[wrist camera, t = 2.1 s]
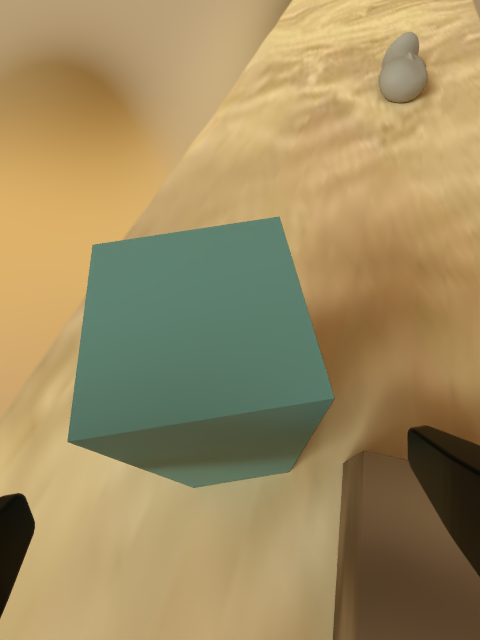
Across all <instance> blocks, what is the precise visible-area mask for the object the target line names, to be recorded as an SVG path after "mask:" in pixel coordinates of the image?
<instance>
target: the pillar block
mask: <svg viewBox="0 0 480 640" xmlns="http://www.w3.org/2000/svg"><path fill="white" fill-rule="evenodd" d="M334 399H335V398H334V395H333V391H332V388H331V385H330V381H329V378H328V375H327V372H326V368H325V365H324V362H323V358H322V355H321V352H320V349H319V345H318V342H317V339H316V335H315V332H314V329H313V326H312V322H311V319H310V316H309V312H308V309H307V306H306V302H305V299H304V296H303V293H302V289H301V286H300V283H299V279H298V276H297V273H296V270H295V266H294V263H293V260H292V256H291V253H290V250H289V246H288V243H287V240H286V237H285V233H284V230H283V227H282V223H281V220H280V217H274V218H267V219H261V220H254V221H247V222H241V223H234V224H228V225H221V226H214V227H208V228H201V229H195V230H188V231H181V232H175V233H168V234H161V235H155V236H148V237H142V238H135V239H128V240H122V241H115V242H109V243H102V244H95V245H93V247H92V254H91V262H90V270H89V278H88V286H87V293H86V301H85V309H84V317H83V325H82V332H81V340H80V348H79V356H78V364H77V371H76V379H75V387H74V395H73V403H72V410H71V418H70V426H69V434H68V442H69V443H72V444H75V445H77V446H80V447H83V448H86V449H88V450H91V451H94V452H97V453H99V454H102V455H105V456H108V457H110V458H113V459H116V460H119V461H121V462H124V463H127V464H130V465H132V466H135V467H138V468H141V469H143V470H146V471H149V472H152V473H154V474H157V475H160V476H163V477H165V478H168V479H171V480H174V481H176V482H179V483H182V484H185V485H187V486H190V487H193V488H196V487H202V486H208V485H214V484H220V483H226V482H232V481H238V480H244V479H250V478H256V477H262V476H268V475H274V474H280V473H286V472H290V470H291V469H292V467H293V465H294V464H295V462H296V460H297V459H298V457H299V456H300V454H301V452H302V451H303V449H304V447H305V446H306V444H307V443H308V441H309V439H310V438H311V436H312V434H313V433H314V431H315V429H316V428H317V426H318V425H319V423H320V421H321V420H322V418H323V416H324V415H325V413H326V412H327V410H328V408H329V407H330V405H331V403H332V402H333V400H334Z"/></svg>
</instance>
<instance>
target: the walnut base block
mask: <svg viewBox="0 0 480 640" xmlns="http://www.w3.org/2000/svg"><path fill="white" fill-rule="evenodd" d="M333 640H480V577H479V576H478V574H477V573H476V571H475V570H474V569H473V567H472V566H471V564H470V563H469V561H468V560H467V559H466V557H465V556H464V554H463V553H462V552H461V550H460V549H459V547H458V546H457V544H456V543H455V541H454V540H453V539H452V537H451V536H450V534H449V532H448V531H447V529H446V528H445V526H444V524H443V523H442V521H441V519H440V517H439V516H438V514H437V512H436V511H435V509H434V507H433V505H432V504H431V502H430V500H429V498H428V497H427V495H426V493H425V492H424V490H423V488H422V486H421V485H420V483H419V481H418V480H417V478H416V476H415V474H414V473H413V471H412V469H411V467H410V464H409V461H408V460H404V459H399V458H395V457H390V456H385V455H381V454H376V453H372V452H367V451H363V452H361V453H360V454H358V455H356V456H355V457H353V458H352V459H350V460H348V461H347V462H345V463H344V464H343V479H342V496H341V513H340V530H339V546H338V563H337V580H336V596H335V613H334V630H333Z"/></svg>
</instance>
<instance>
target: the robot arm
mask: <svg viewBox="0 0 480 640" xmlns="http://www.w3.org/2000/svg"><path fill="white" fill-rule="evenodd" d="M408 461H409V464H410V467H411V469H412V471H413V473H414V474H415V476H416V478H417V480H418V481H419V483H420V485H421V486H422V488H423V490H424V492H425V493H426V495H427V497H428V498H429V500H430V502H431V504H432V505H433V507H434V509H435V511H436V512H437V514H438V516H439V517H440V519H441V521H442V523H443V524H444V526H445V528H446V529H447V531H448V532H449V534H450V536H451V537H452V539H453V540H454V541H455V543H456V544H457V546H458V547H459V549H460V550H461V552H462V553H463V554H464V556H465V557H466V559H467V560H468V561H469V563H470V564H471V566H472V567H473V569H474V570H475V571H476V573H477V574H478V576H479V577H480V445H477V444H474V443H472V442H469V441H467V440H464V439H461V438H459V437H456V436H453V435H451V434H448V433H446V432H443V431H440V430H438V429H435V428H433V427H430V426H419V427H413V428H410V429H409V430H408ZM34 529H35V521H34V518H33V516H32V513H31V510H30V508H29V505H28V502H27V500H26V497H25V496H24V495H23V494H21V493H17V494H11V495H5V496H2V497H0V618H1V616H2V613H3V611H4V608H5V606H6V604H7V601H8V599H9V596H10V594H11V591H12V588H13V586H14V583H15V581H16V578H17V575H18V573H19V570H20V568H21V565H22V562H23V560H24V557H25V555H26V552H27V549H28V547H29V544H30V542H31V539H32V537H33V534H34Z"/></svg>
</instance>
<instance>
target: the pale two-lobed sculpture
mask: <svg viewBox="0 0 480 640" xmlns="http://www.w3.org/2000/svg"><path fill="white" fill-rule="evenodd" d="M418 52H419V41H418V37H417V36H416V34H414V33H412V32H408V33H405V34H403V35H401V36H400V37H398V38H397V39H396V40H395V41H394V42H393V43H392V44H391V46H390V47H389V48H388V50H387V51H386V53H385V56H384V58H383V62H382V70H381V72H380V75H379V88H380V91H381V93H382V95H383V96H384V97H385V98H386V99H387V100H389V101H392V102H396V103H403V102H408V101H411V100H413V99H414V98H416V97H417V96H418V95H419V94H420V93H421V92H422V90H423V89H424V87H425V86H426V84H427V71H426V65H425V63H424V61H423V60H422V59H421V58H420V57H419V56H418Z"/></svg>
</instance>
